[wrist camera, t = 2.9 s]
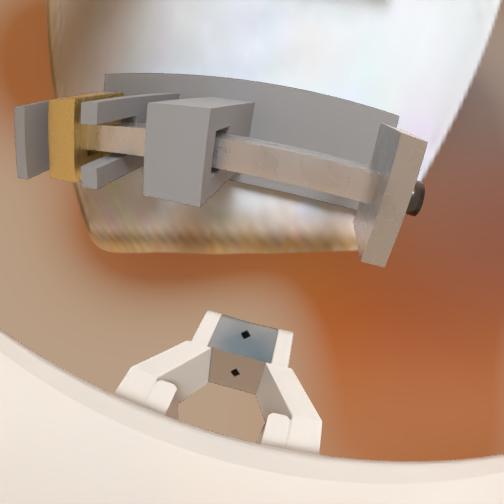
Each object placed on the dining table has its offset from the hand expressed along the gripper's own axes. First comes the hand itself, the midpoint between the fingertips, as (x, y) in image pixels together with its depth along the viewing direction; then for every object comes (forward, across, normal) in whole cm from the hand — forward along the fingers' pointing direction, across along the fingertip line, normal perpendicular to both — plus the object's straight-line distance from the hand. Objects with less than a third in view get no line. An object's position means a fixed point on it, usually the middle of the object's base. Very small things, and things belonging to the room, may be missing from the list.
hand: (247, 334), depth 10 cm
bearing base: (+22, +7, -3) cm, 23 cm away
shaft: (+15, +6, -3) cm, 16 cm away
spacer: (+16, +17, -3) cm, 23 cm away
